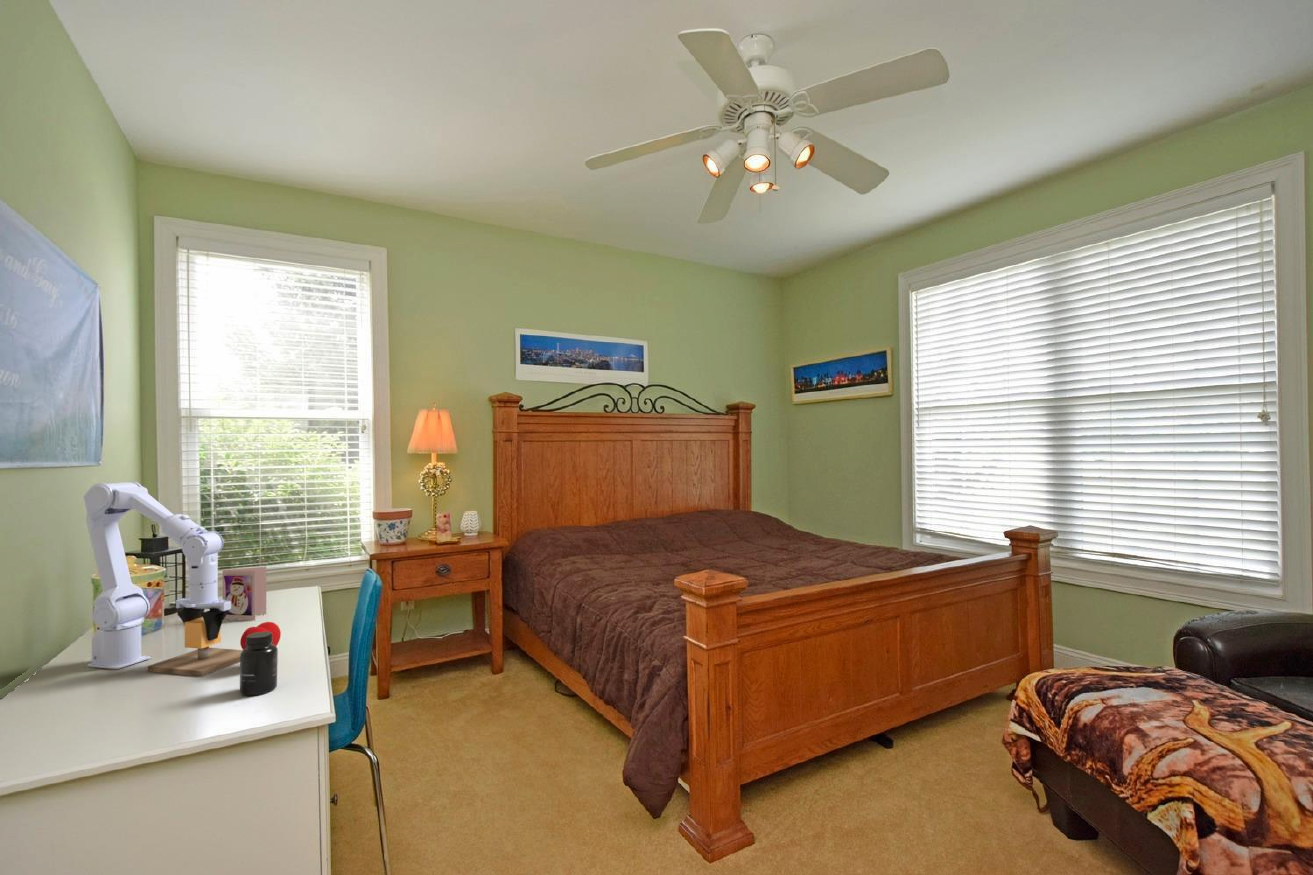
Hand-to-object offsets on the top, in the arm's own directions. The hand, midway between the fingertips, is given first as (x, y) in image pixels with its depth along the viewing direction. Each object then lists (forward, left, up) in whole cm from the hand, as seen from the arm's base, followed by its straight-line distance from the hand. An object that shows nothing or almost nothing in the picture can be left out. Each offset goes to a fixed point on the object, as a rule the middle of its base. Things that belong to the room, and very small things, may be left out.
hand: (203, 638), depth 149 cm
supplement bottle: (+28, -11, -6) cm, 31 cm away
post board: (0, 0, -6) cm, 6 cm away
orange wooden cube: (0, 0, -1) cm, 1 cm away
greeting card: (-26, +36, -6) cm, 45 cm away
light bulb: (+16, +1, -6) cm, 17 cm away
